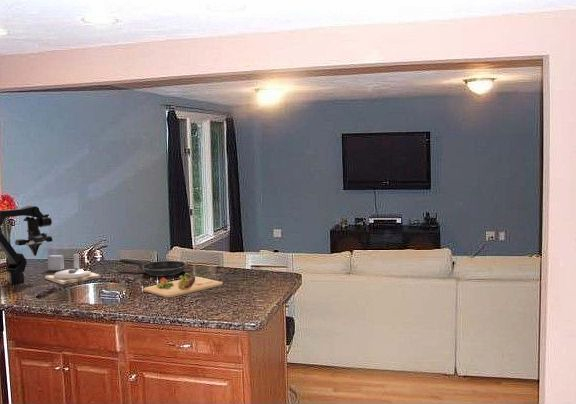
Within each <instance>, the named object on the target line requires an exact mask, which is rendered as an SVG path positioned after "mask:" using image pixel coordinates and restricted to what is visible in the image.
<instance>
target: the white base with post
mask: <svg viewBox="0 0 576 404" xmlns="http://www.w3.org/2000/svg"><path fill="white" fill-rule="evenodd" d="M79 255H80V254H78V253H74V254H73V255H72V257H73V269H71V268H70V269H63V270H58V271H56V272H55V273H54V275H55V278H59V279H72V278H80V277H85V276H88V275H90V274H91V272H92V271H91V270H90V271H84V270H83V269H84V268H80V256H79Z"/></svg>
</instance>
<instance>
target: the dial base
mask: <svg viewBox="0 0 576 404" xmlns="http://www.w3.org/2000/svg"><path fill="white" fill-rule="evenodd" d="M90 272H91V274H90V275H88V276H85V277H80V278H72V279H59V278H55V274H50V275H45V276H44V278H45V280H47V281H51V282H54V283H57V284H60V285H67V284H73V283H80V282H85V281H89V280H94V279H99V278H101V274H99V273H95V272H92V271H90Z"/></svg>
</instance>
